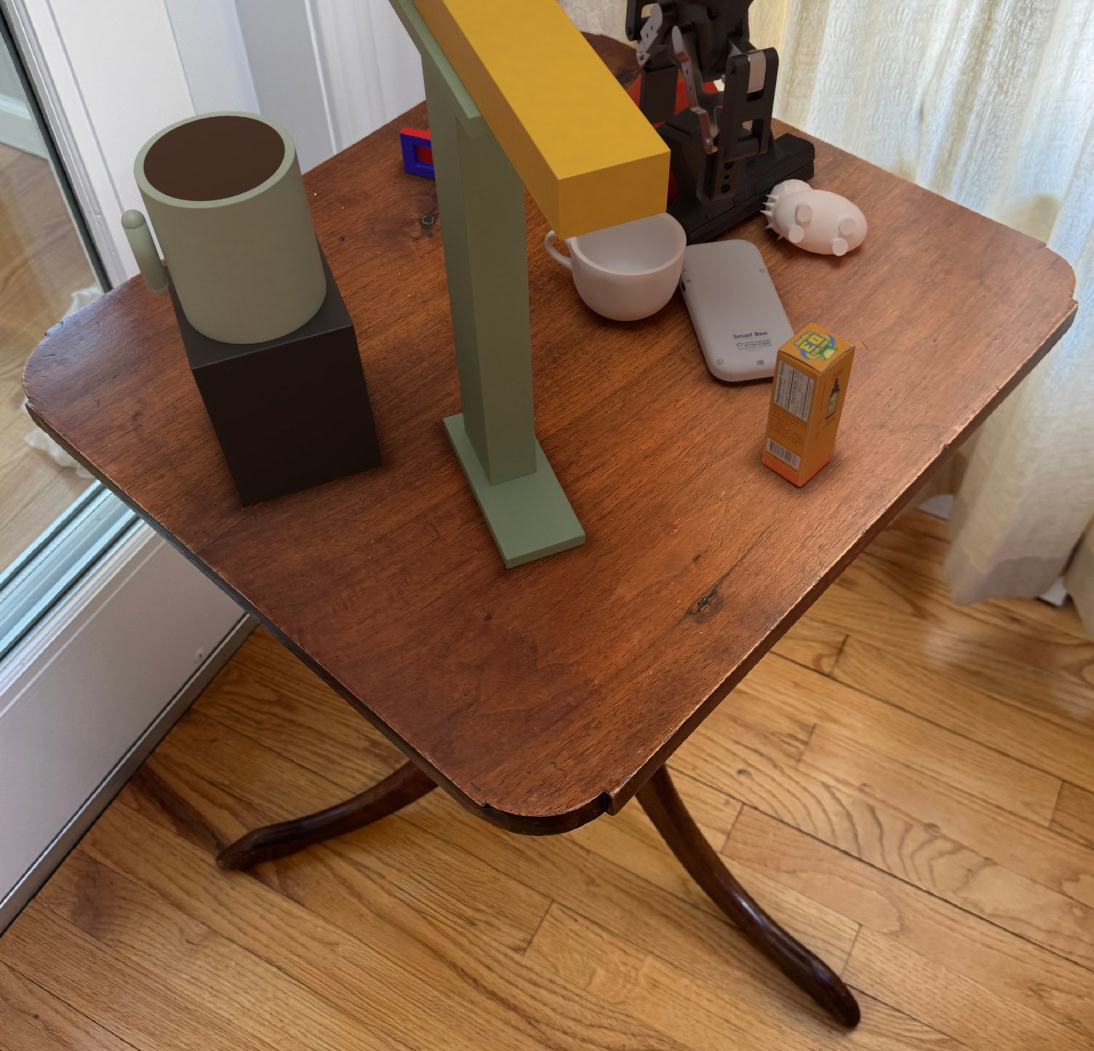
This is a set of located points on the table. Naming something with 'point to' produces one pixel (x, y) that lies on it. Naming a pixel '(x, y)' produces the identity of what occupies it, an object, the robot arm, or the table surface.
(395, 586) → the table surface
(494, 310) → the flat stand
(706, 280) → the grey smart device
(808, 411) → the supplement box
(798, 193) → the toy creature
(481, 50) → the rectangular block
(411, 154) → the toy building block
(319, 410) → the hollow cylinder with base
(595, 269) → the teacup
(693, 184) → the handgun
